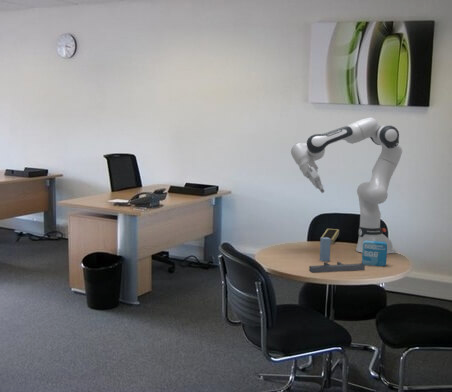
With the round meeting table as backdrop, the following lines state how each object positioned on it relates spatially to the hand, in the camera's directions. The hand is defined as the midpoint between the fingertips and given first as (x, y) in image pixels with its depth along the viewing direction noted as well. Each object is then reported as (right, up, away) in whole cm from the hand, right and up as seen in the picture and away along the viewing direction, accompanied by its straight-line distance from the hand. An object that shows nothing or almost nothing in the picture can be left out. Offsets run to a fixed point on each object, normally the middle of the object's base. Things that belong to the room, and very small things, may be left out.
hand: (322, 190), depth 289 cm
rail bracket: (+2, -40, -26) cm, 47 cm away
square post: (0, -37, -8) cm, 38 cm away
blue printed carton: (+24, -39, -14) cm, 48 cm away
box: (+11, -31, +40) cm, 52 cm away
